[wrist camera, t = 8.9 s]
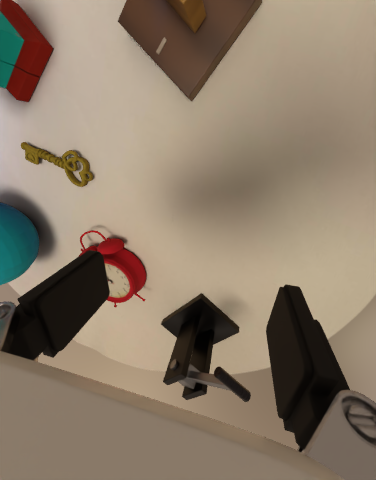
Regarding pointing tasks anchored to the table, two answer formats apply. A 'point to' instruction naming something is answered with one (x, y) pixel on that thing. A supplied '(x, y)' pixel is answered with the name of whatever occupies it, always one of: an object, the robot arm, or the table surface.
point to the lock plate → (186, 37)
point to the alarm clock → (119, 269)
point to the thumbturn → (190, 12)
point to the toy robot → (20, 51)
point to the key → (60, 162)
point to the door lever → (215, 381)
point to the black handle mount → (195, 340)
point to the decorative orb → (16, 243)
